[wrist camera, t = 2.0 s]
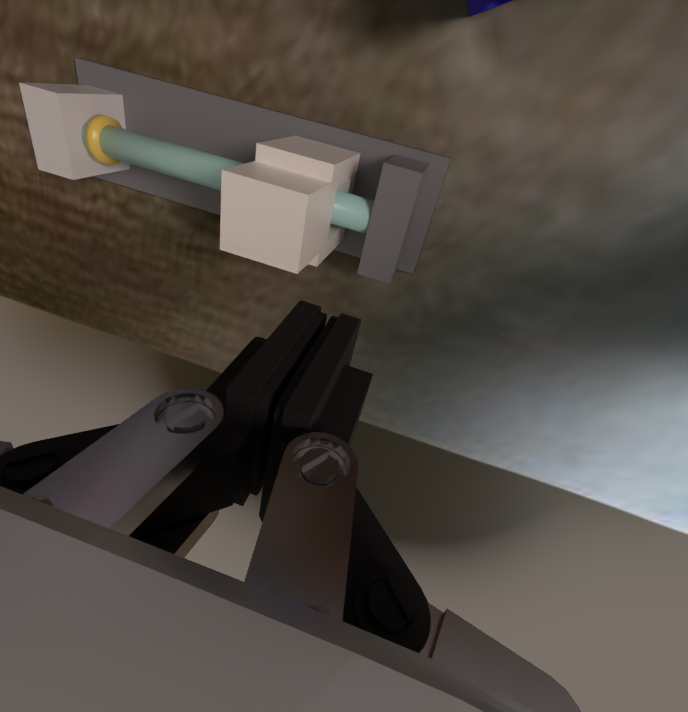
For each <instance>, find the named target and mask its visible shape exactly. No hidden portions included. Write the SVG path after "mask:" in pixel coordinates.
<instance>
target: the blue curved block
mask: <svg viewBox="0 0 688 712" xmlns="http://www.w3.org/2000/svg"><path fill="white" fill-rule="evenodd" d="M510 1H512V0H468V7H469V17H470V16H473V15H475V14H478V13H481V12H483V11H486V10H489V9H491V8H494V7H497V6H499V5H502V4H504V3H507V2H510Z"/></svg>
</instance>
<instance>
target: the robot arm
mask: <svg viewBox="0 0 688 712" xmlns="http://www.w3.org/2000/svg"><path fill="white" fill-rule="evenodd" d="M326 318H327V314H325V313H322V312H321V306H317V305H314V304H311V303H308V302H305V301H299V302H298V304H297V305H296V306H295V307H294V308H293V309H292V311H291V312H290V313H289V314H288V315H287V317H286V318H285V319H284V320H283V321H282V322H281V324H280V325H279V326H278V327H277V328H276V330H275V331H274V332H273V333H272V334H271V335H270V337H269V338H268V339H264V338H261V337H255V338H254V339H253V340H252V341H251V342H250V343H249V344H248V345H247V346H246V347H245V348H244V349H243V351H242V352H241V353H240V354H239V355H238V356H237V357H236V358H235V359H234V361H233V362H232V363H231V364H230V365H229V366H228V367H227V368H226V369H225V370H224V372H223V373H222V374H221V375H220V376H219V377H218V378H217V379H216V380H215V382H214V383H213V384H212V385H211V386H210V387H209V388H208V389H207V390H206V391H204V390H201V389H192V388H185V389H176V390H173V391H169V392H166V393H164V394H163V395H160V396H159V397H157V398H155V399H154V400H153V401H151V402H150V403H149V404H147V405H146V406H144V407H143V408H142V409H140V410H139V411H137V412H136V413H135V414H133V415H132V416H131V417H129V418H128V419H126V420H125V421H124V422H122V423H121V424H117V425H113V426H108V427H103V428H98V429H93V430H89V431H84V432H79V433H74V434H69V435H65V436H60V437H55V438H50V439H45V440H40V441H36V442H32V443H28V444H25V445H22V446H19V447H16V448H13V446H12V444H11V442H3V441H0V712H581V711H580V709H579V707H578V706H577V704H576V703H575V701H574V700H573V698H572V697H571V696H570V694H569V693H568V691H567V690H566V689H565V688H564V687H563V686H562V685H560V684H559V683H558V682H557V681H556V680H555V679H554V678H552V677H551V676H550V675H548V674H547V673H545V672H544V671H542V670H540V669H539V668H538V667H536V666H534V665H533V664H531V663H530V662H528V661H527V660H525V659H524V658H522V657H521V656H519V655H518V654H516V653H514V652H513V651H511V650H510V649H508V648H507V647H505V646H504V645H502V644H500V643H499V642H498V641H496V640H495V639H493V638H492V637H490V636H488V635H487V634H485V633H484V632H482V631H481V630H479V629H478V628H476V627H475V626H473V625H472V624H470V623H468V622H467V621H465V620H464V619H462V618H461V617H459V616H458V615H456V614H455V613H453V612H452V611H450V610H449V609H446V611H445V612H444V613H443V612H442V611H440V610H438V609H437V608H435V607H434V606H433V605H431V604H430V603H428V601H427V599H426V597H425V596H424V593H423V591H422V589H421V587H420V586H419V584H418V583H417V581H416V580H415V578H414V576H413V575H412V573H411V572H410V570H409V569H408V567H407V565H406V564H405V562H404V561H403V559H402V558H401V556H400V555H399V553H398V551H397V550H396V548H395V547H394V545H393V544H392V542H391V540H390V539H389V537H388V536H387V534H386V533H385V531H384V530H383V528H382V526H381V525H380V523H379V522H378V520H377V519H376V517H375V515H374V514H373V512H372V511H371V509H370V508H369V506H368V504H367V503H366V501H365V500H364V499H363V497H362V495H361V494H360V492H359V490H358V489H357V487H356V483H357V474H358V462H357V458H356V456H355V454H354V452H353V450H352V449H351V448H350V443H351V440H352V437H353V434H354V431H355V429H356V425H357V423H358V420H359V417H360V414H361V411H362V408H363V404H364V401H365V398H366V395H367V392H368V389H369V385H370V382H371V379H372V376H373V374H371V373H368V372H365V371H362V370H359V369H356V368H353V367H350V366H349V365H350V361H351V358H352V354H353V350H354V346H355V343H356V339H357V335H358V331H359V327H360V323H361V319H359V318H356V317H352V316H349V315H346V314H343V313H341V314H340V316H339V317H334V316H332V317H331V318H330V319H329V321H328V323H327V324H326V326H325V323H326ZM263 484H264V486H263ZM262 486H263V492H262V500H261V506H260V513H259V516H260V519H261V521H262V526H261V529H260V532H259V535H258V539H257V542H256V545H255V549H254V552H253V555H252V558H251V562H250V565H249V568H248V571H247V574H246V578H245V581H244V582H243V581H240V580H238V579H235V578H232V577H230V576H228V575H225V574H222V573H220V572H218V571H215V570H212V569H210V568H207V567H205V566H202V565H200V564H197V563H195V562H192V561H189V560H187V559H185V556H186V555H187V554H188V553H189V551H190V550H191V549H192V548H193V546H194V545H195V544H196V543H197V542H198V540H199V539H200V538H201V537H202V535H203V534H204V533H205V532H206V531H207V529H208V528H209V527H210V526H211V524H212V523H213V522H214V520H215V519H216V517H217V515H218V513H219V510H220V509H223V508H226V507H228V506H231V505H233V503H236V504H239V505H241V506H243V505H244V503H245V501H246V499H247V498H248V496H249V494H253V495H257V494H258V493H259V492H260V490H261V488H262Z"/></svg>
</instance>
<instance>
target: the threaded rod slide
mask: <svg viewBox="0 0 688 712" xmlns="http://www.w3.org/2000/svg"><path fill="white" fill-rule="evenodd" d="M75 64H76V71H77V77H78V84H79V85H66V84H42V83H19V84H20V89H21V93H22V98H23V102H24V107H25V111H26V116H27V120H28V125H29V129H30V134H31V138H32V143H33V147H34V152H35V156H36V161H37V165H38V169H39V170H42V171H46V172H49V173H52V174H55V175H59V176H62V177H65V178H68V179H72V180H75V179H80V178H86V177H91V176H93V177H96V178H99V179H103V180H106V181H109V182H113V183H116V184H119V185H122V186H126V187H129V188H132V189H136V190H139V191H142V192H145V193H149V194H152V195H155V196H158V197H162V198H165V199H168V200H172V201H175V202H178V203H181V204H185V205H188V206H191V207H194V208H198V209H201V210H204V211H208V212H211V213H214V214H217V215H221V175H222V170H223V169H226V168H230V167H234V166H238V165H241V164H245V163H249V162H253V161H255V157H256V143H259V142H264V141H270V140H275V139H280V138H286V137H291V136H300V137H303V138H307V139H311V140H314V141H318V142H321V143H325V144H329V145H332V146H336V147H340V148H343V149H347V150H351V151H354V152H358V153H361V154H360V159H359V164H358V168H357V173H356V178H355V183H354V188H353V193H352V194H350V193H346V192H343V191H339V190H336V195H335V200H334V206H333V211H332V217H331V222H330V223H331V224H334V225H338V226H341V227H344V228H345V232H344V237H343V240H342V241H341V242H340V243H339V244H338V246H337V247H336V248H335V249H334V250H335V251H339V252H342V253H345V254H348V255H352V256H355V257H358V258H361V260H360V264H359V268H358V272H357V274H358V275H362V276H365V277H368V278H371V279H374V280H378V281H381V282H384V283H387V284H391V282H392V279H393V277H394V275H395V273H396V271H397V269H398V270H401V271H404V272H407V273H411V274H413V273H414V270H415V267H416V264H417V261H418V258H419V255H420V252H421V248H422V245H423V242H424V239H425V236H426V233H427V230H428V227H429V224H430V221H431V218H432V215H433V212H434V209H435V206H436V203H437V199H438V196H439V193H440V190H441V187H442V184H443V181H444V178H445V175H446V172H447V169H448V166H449V163H450V160H451V158H450V157H446V156H442V155H439V154H435V153H431V152H427V151H424V150H420V149H416V148H413V147H409V146H405V145H401V144H398V143H394V142H390V141H386V140H383V139H379V138H375V137H372V136H368V135H364V134H360V133H357V132H353V131H349V130H346V129H342V128H338V127H334V126H331V125H327V124H323V123H319V122H316V121H312V120H308V119H305V118H301V117H297V116H293V115H290V114H286V113H282V112H278V111H275V110H271V109H267V108H264V107H260V106H256V105H252V104H249V103H245V102H241V101H237V100H234V99H230V98H226V97H223V96H219V95H215V94H211V93H208V92H204V91H200V90H197V89H193V88H189V87H185V86H182V85H178V84H174V83H170V82H167V81H163V80H159V79H156V78H152V77H148V76H144V75H141V74H137V73H133V72H129V71H126V70H122V69H118V68H115V67H111V66H107V65H103V64H100V63H96V62H92V61H88V60H85V59H81V58H75Z"/></svg>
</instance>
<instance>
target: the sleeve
mask: <svg viewBox="0 0 688 712" xmlns="http://www.w3.org/2000/svg"><path fill="white" fill-rule="evenodd" d="M360 154H361V153H358V152H354V151H351V150H347V149H343V148H340V147H336V146H332V145H329V144H325V143H321V142H318V141H314V140H311V139H307V138H303V137H300V136H291V137H286V138H280V139H275V140H270V141H264V142H259V143H256V157H255V161H253V162H249V163H245V164H241V165H238V166H234V167H230V168H226V169H223V170H222V175H221V218H220V250H223V251H226V252H229V253H232V254H235V255H239V256H242V257H245V258H248V259H251V260H254V261H258V262H261V263H264V264H267V265H270V266H273V267H277V268H280V269H283V270H286V271H289V272H292V273H296V274H298V273H299V272H300V271H301V270H302V269H303V268H304V267H305V266H306V265H307V264H309V265H312V266H316V267H317V266H318V265H319V264H320V263H321V262H322V261H323V260H324V259H325V258H326V257H327V256H328V255H329V254H330V253H331V252H332V251H333V250H334V249H335V248H336V247H337V246H338V244H339V243H340V242H341V241H342V240H343V237H344V232H345V228H344V227H341V226H338V225H334V224H331V223H330V222H331V217H332V211H333V206H334V200H335V195H336V190H339V191H343V192H346V193H350V194H352V193H353V188H354V183H355V178H356V173H357V168H358V164H359V159H360Z"/></svg>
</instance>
